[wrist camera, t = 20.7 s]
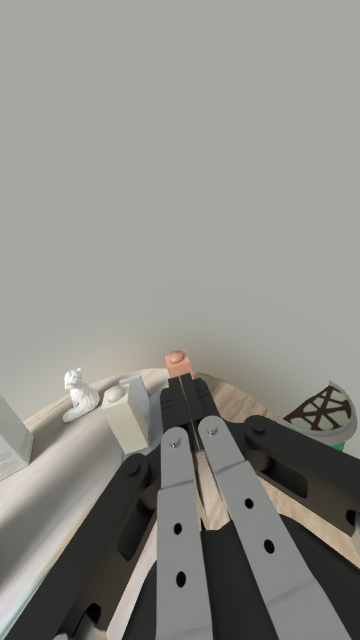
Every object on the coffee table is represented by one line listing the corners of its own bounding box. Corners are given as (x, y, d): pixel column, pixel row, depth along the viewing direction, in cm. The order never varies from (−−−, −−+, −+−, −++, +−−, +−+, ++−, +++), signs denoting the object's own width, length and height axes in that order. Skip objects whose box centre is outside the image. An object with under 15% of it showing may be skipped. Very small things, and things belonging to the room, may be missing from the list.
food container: (315, 500, 28) (318, 455, 23) (277, 460, 33) (275, 417, 29) (369, 449, 31) (380, 403, 27) (327, 421, 37) (331, 378, 32)
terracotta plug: (181, 412, 44) (165, 364, 38) (178, 397, 48) (163, 352, 43) (201, 405, 44) (188, 357, 39) (196, 391, 48) (184, 346, 43)
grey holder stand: (123, 478, 36) (105, 449, 33) (128, 405, 51) (117, 380, 48) (221, 445, 37) (214, 414, 34) (198, 383, 53) (191, 358, 49)
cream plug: (125, 454, 38) (98, 405, 33) (127, 433, 42) (103, 386, 37) (148, 447, 38) (125, 397, 33) (147, 426, 42) (127, 379, 37)
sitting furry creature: (79, 395, 59) (60, 363, 55) (107, 390, 59) (90, 357, 54) (63, 424, 51) (39, 388, 46) (95, 418, 50) (74, 381, 45)
